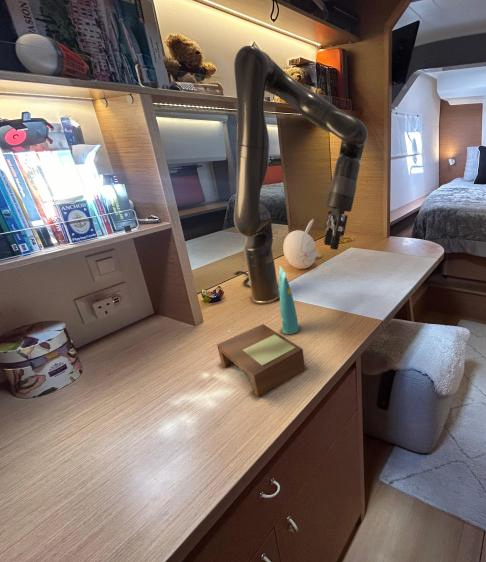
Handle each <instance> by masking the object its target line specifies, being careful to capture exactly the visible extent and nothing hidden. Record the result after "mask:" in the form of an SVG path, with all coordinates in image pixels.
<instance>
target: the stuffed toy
mask: <svg viewBox="0 0 486 562" xmlns="http://www.w3.org/2000/svg"><path fill="white" fill-rule="evenodd" d="M314 221H315V219H314V218H313V219H311V220H310V221H309V222H308V224H307V225H306V227H305V230H300V229H297V230H293V231H291V232H289V233H288V234H287V235H286V237H285V238H284V240H283V245H282V250H283V255H284V257H285V260H286V262H288V264H290V266H292V267H294V268H295V269H299V270H305V269H308V268H310V267H311V266H312V265H313V264H314V263H315V261H316V259H319V258H320V259H321V258H322V257H323V255H322V254H321V253H318V252H317V251H318V250H317V246H316V242H315V240H314V238H313V237H312V236H311V235H310V234H309V232H310V230H311V228H312V226H313V224H314Z"/></svg>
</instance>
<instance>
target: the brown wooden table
mask: <svg viewBox="0 0 486 562" xmlns="http://www.w3.org/2000/svg"><path fill="white" fill-rule="evenodd" d="M216 346H217V349H218V350H217V351H218V354H219V358H220V361H221V362H220V363H221V365H222V366H224V368H227V367H229V366H231V365H233V364H234V365H235V366H236V367H238V368H239V369H240V370H241V371H242V372H244V373H245V374H246V375H247V376H248V377H249V378H250V381H251V386H252V390H253V394H254V395H256V396H257V397H258V398H260V397H262V396H263V395H265V394H267V393H268V392H270V391H272V390H273V389H275V388H276V387H278V386H280V385H282V384H283V383H284V382H286V381H288V380H290V379H291V378H293V377H295V376H297V375H298V374H300V373H301V372H303V371H304V370H306V364H305V355H304V349H303V348H302V347H301V346H299V345H297V344H296V343H294V342H293V341H291V340H289V339H288V338H287V337H285V336H284V335H281V334H279V333H278V332H277V331H275V330H273V329H271V328H270V327H268V326H267V325H265V324H264V323H262V324H259V325H257V326H255V327H253V328H251V329H248V330H246V331H244V332H242V333H239V334H237V335H235V336H233V337H230V338H228V339H226V340H224V341H222V342H220V343H217V344H216Z"/></svg>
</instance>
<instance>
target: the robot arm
mask: <svg viewBox="0 0 486 562" xmlns="http://www.w3.org/2000/svg"><path fill="white" fill-rule="evenodd" d="M233 67H234V80H235V91H236V104H237V106H236V107H237V109H236V110H237V111H236V147H235V149H236V152H235V153H236V193H235V203H234V210H233V223H234V227H235V229H236V230H237V232H238V234H240V235H242V236H244V237H246V240H245V243H244V244H243V254H244V259H245V263H246V264H245V265H246V269H247V272H246V271H242V270H238V271H236V272H235V275H238V274H243V275H246V276H247V278H246V279H244V280H243V285H244V286H245V287H247V288H250V292H251V297H252V298H251V299H252V301H253V303H255V304H259V305H260V304H261V305H263V304H270V303H273V302H275V301H277V300H279V299H280V293H279V282H278V277H277V270H276V264H275V260H274V259H275V258H274V251H273V243H274V235H273V234H274V233H273V227H272V226H273V225H272V219H271V214H270V212H269V210H268V209H267V208H266V206H265V205H263V204H262V203H260V199H261V191H262V187H263V184H264V181H265V178H266V176H267V172H268V168H269V162H270V137H269V130H268V126H267V122H266V117H265V93H266V92H267V93H269V94H271V95H273V96H276V97H277V98H279V99H280V100H282V101H284V102H285V103H286V104H288V105H289V106H290V107H292V108H293V109H294V110H295V111H296V112H298V113H299V114H300V115H301V116H303V117H304V118H305V119H306V120H308V121H309V122H310V123H312V124H313V125H315V126H316V127H318V128H319V129H321V130H322V131H324V132H326V133H331V134H333V135H334V136H336V137H337V138H338V139H340V140H341V142H340V148H339V153H338V157H337V159H336V161H335V162H336V163H335V166H334V171H333V175H332V178H331V182H330V186H329V190H328V194H327V200H326V207H328V208H330V209H331V210H328V211H327V218H326V221H325V225H324V230H325V234H324V241H323V245H325V246H329V249H331V250H338V249H339V245H340V240H341V238H342V237H344V235H345V232H346V231H345V230H346V227H347V221H348V218H349V217H348V215H347V214H345V212H347V213H351V211H352V208H353V204H354V201H355V196H356V191H357V184H358V182H357V181H358V178H359V174H360V169H361V160H362V156H363V152H364V149H365V145H366V141H367V138H368V129H367V127H366V125H365V124H364V123H363V121H361V119H359V118H356V117H355V116H353V115H351V114H350V113H348V112H346V111H344V110H341V109H339V108H337V106H335V105H334V104H332V103H331V102H330V101H328V100H327V99H325V98H323V97H322V96H321V95H319V94H317V93H316V92H314V91H312V90H311V89H310V88H307V87H306V86H304V85H303V84H301V83H300V82H298V81H297V80H295V79H294V78H293V77H292V76H290V75H289V74H288V73H287V72H285V71H284V70H283V69H282V68H281V67H280V66H279V65H278V63H276V62H275V61H274V60H273V59H272V58H271V56H270V55H269V54H267V53H266V52H264V51H263V50H261V49H259V48H257V47H256V46H254V45H245V46H242V47H241V48H240V49H239V50H238V51H237V53H236V55H235V58H234V64H233ZM248 281H249V284H248V283H246V282H248Z"/></svg>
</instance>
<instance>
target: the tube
mask: <svg viewBox="0 0 486 562" xmlns="http://www.w3.org/2000/svg"><path fill="white" fill-rule="evenodd" d="M278 287H279V288H278V290H279V294H280V297H279V307H280V308H279V310H280V321H281V330H282V333H283V334H285V335H293V334H296V333H298V331H299V329H300V326H299V321H298V315H297V311H296V305H295V300H294V297H293V293H292V290H291V286H290V284H289V281H288V279H287V274H286V272H285V270H284V269H283V268H282V267H281V266H279V271H278Z"/></svg>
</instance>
